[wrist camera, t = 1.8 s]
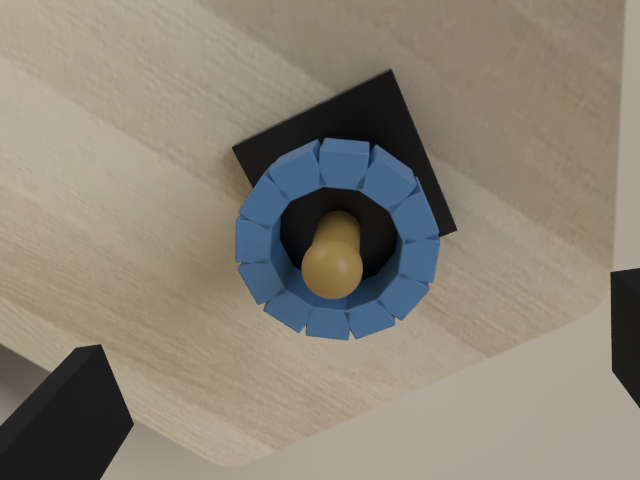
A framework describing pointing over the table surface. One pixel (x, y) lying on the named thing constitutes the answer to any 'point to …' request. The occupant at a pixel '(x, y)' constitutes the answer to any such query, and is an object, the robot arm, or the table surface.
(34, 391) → the robot arm
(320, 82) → the table surface
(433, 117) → the table surface
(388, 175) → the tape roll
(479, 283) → the table surface
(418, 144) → the tape holder
